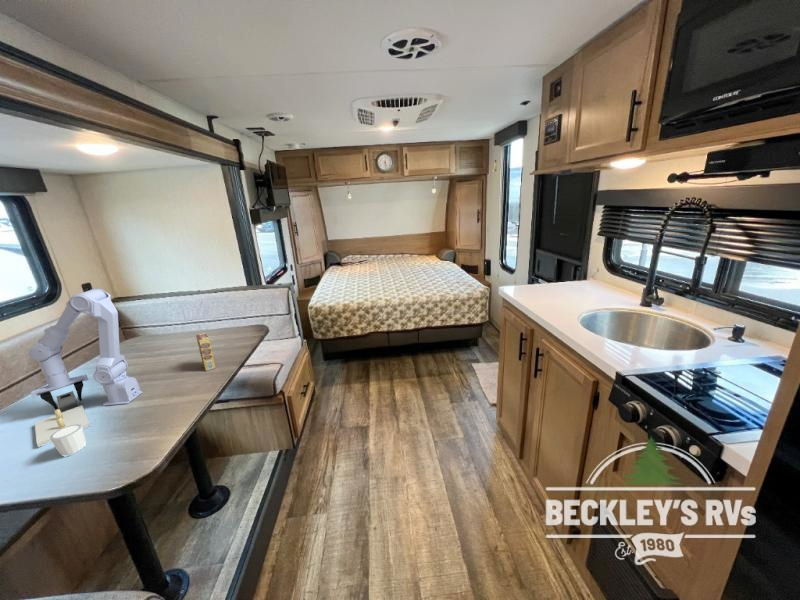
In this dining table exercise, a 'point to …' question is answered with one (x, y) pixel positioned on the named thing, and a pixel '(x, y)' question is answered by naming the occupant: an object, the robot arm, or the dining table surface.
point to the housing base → (59, 423)
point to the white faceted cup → (69, 439)
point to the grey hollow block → (67, 401)
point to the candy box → (205, 351)
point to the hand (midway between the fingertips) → (68, 404)
